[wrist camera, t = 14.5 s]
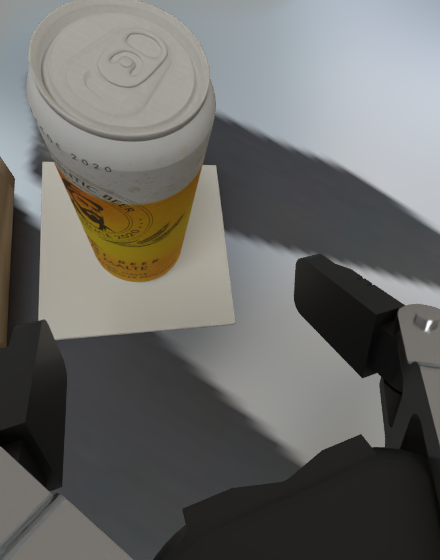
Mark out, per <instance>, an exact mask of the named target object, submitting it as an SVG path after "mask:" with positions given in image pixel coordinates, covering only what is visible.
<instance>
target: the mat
mask: <svg viewBox="0 0 440 560" xmlns="http://www.w3.org/2000/svg"><path fill="white" fill-rule="evenodd" d="M43 319H44V320H46V321H47V323H48V325H49V327H50V329H51V332H52V334H53V336H54V339H55V340H64V339H75V338H86V337H98V336H109V335H121V334H132V333H144V332H155V331H165V330H177V329H189V328H201V327H212V326H222V325H233V324H235V323H236V322H235V314H234V306H233V299H232V291H231V282H230V274H229V266H228V258H227V250H226V242H225V234H224V226H223V218H222V210H221V202H220V194H219V186H218V178H217V170H216V165H202V169H201V173H200V177H199V181H198V185H197V189H196V193H195V197H194V201H193V205H192V209H191V213H190V217H189V221H188V225H187V229H186V233H185V237H184V241H183V245H182V249H181V253H180V256H179V258H178V260H177V262H176V263H175V265H174V266H173V267H172V268H171V269H170V270H169V271H168V272H167V273H166V274H164V275H163V276H161V277H159V278H157V279H154V280H151V281H146V282H130V281H125V280H122V279H119V278H117V277H115V276H113V275H112V274H110V273H109V272H108V271H106V270H105V269H104V268H103V267H102V265H101V264H100V263H99V261H98V260H97V258H96V256H95V253H94V251H93V249H92V247H91V244H90V242H89V240H88V238H87V235H86V233H85V231H84V229H83V226H82V224H81V222H80V220H79V217H78V215H77V213H76V211H75V209H74V206H73V204H72V202H71V200H70V197H69V195H68V193H67V191H66V188H65V186H64V184H63V182H62V179H61V177H60V175H59V173H58V170H57V168H56V166H55V164H54V162H43V164H42V204H41V241H40V279H39V318H38V321H39V320H43Z"/></svg>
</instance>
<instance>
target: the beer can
mask: <svg viewBox="0 0 440 560" xmlns="http://www.w3.org/2000/svg"><path fill="white" fill-rule="evenodd" d="M28 55H29V71H28V76H27V84H26V88H27V98H28V103H29V106H30V109H31V112H32V114H33V117H34V119H35V121H36V123H37V126H38V128H39V130H40V132H41V135H42V137H43V139H44V141H45V143H46V146H47V148H48V150H49V152H50V155H51V157H52V159H53V161H54V164H55V166H56V168H57V170H58V173H59V175H60V177H61V179H62V182H63V184H64V186H65V188H66V191H67V193H68V195H69V197H70V200H71V202H72V204H73V206H74V209H75V211H76V213H77V215H78V217H79V220H80V222H81V224H82V226H83V229H84V231H85V233H86V235H87V238H88V240H89V242H90V244H91V247H92V249H93V251H94V253H95V256H96V258H97V260H98V261H99V263H100V264H101V265H102V267H103V268H104V269H105V270H106V271H108V272H109V273H110V274H112V275H113V276H115V277H117V278H119V279H122V280H125V281H130V282H146V281H151V280H154V279H157V278H159V277H161V276H163V275H164V274H166V273H167V272H168V271H169V270H170V269H171V268H172V267H173V266H174V265H175V263H176V262H177V260H178V258H179V256H180V253H181V249H182V245H183V241H184V237H185V233H186V229H187V225H188V221H189V217H190V213H191V209H192V205H193V201H194V197H195V193H196V189H197V185H198V181H199V177H200V173H201V169H202V165H203V161H204V157H205V153H206V149H207V145H208V141H209V137H210V133H211V129H212V125H213V121H214V117H215V110H216V101H215V94H214V89H213V86H212V83H211V80H210V71H209V65H208V60H207V57H206V55H205V52H204V50H203V48H202V46H201V44H200V43H199V41H198V40H197V38H196V37H195V36H194V35H193V33H192V32H191V31H190V30H189V29H188V28H187V27H186V26H185V25H184V24H183V23H181V22H180V21H179V20H178V19H176V18H175V17H173V16H172V15H171V14H169V13H167V12H165V11H164V10H162V9H160V8H158V7H156V6H153V5H151V4H148V3H145V2H142V1H139V0H75V1H72V2H69V3H67V4H65V5H63V6H60V7H59V8H57V9H56V10H54V11H52V12H51V13H50V14H49V15H47V16H46V17H45V18H44V19H43V21H42V22H41V23H40V24H39V25H38V27H37V28H36V30H35V32H34V34H33V36H32V38H31V42H30V45H29V54H28Z"/></svg>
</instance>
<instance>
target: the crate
mask: <svg viewBox="0 0 440 560" xmlns="http://www.w3.org/2000/svg"><path fill="white" fill-rule="evenodd" d="M14 184H15V178H14V176H13V175H12V173H11V172H10V171H9V169H8V167H7V166H6V164H5V163H4V162H3V160H2V159H1V157H0V349H1V348H5V347H6V345H7V325H8V305H9V285H10V265H11V244H12V224H13V204H14Z"/></svg>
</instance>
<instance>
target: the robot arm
mask: <svg viewBox="0 0 440 560" xmlns="http://www.w3.org/2000/svg"><path fill="white" fill-rule="evenodd" d="M294 302H295V306H296V308H297V310H298V312H299V313H300V314H301V315H302V317H304V319H305V320H306V321H307V322H308V323H309V324H310V325H311V326H312V327H313V328H314V329H315V330H316V331H317V332H318V333H319V334H320V335H321V336H322V337H323V338H324V339H325V340H326V341H327V342H328V343H329V344H330V345H331V346H332V347H333V348H334V349H335V350H336V352H337V353H339V355H340V356H341V357H342V358H343V359H344V360H345V361H346V362H347V363H348V364H349V365H350V366H351V367H352V368H353V369H354V370H355V371H356V372H357V373H358V374H359V375H360V376H361V377H362V378H364V377H367V376H370V375H373V374H375V373H378V374H379V375H380V376H381V380H380V393H381V404H382V412H383V422H384V431H385V447H373V448H372V447H371V446H370V445H369V444H368V442H367V441H366V440H365V439H364V437H363V436H362V435H361V434H360V435H358V436H356V437H354V438H351V439H348V440H346V441H344V442H341V443H339V444H337V445H334V446H332V447H329V448H327V449H325V450H322V451H321V452H320V453H319V454H317V455H316V456H315V457H314V458H313V459H311V460H310V461H309V462H308V463H307V464H306V465H304V466H303V467H302V468H301V469H300V470H298V471H297V472H296V473H295V474H294V475H293V476H291V477H290V478H289V479H288V480H286V481H283V482H279V483H271V484H263V485H255V486H247V487H239V488H231V489H229V490H226V491H224V492H222V493H219V494H217V495H214V496H212V497H210V498H207V499H205V500H203V501H200V502H198V503H195V504H193V505H191V506H188V507H186V508H183V514H184V518H185V522H186V525H185V526H184V527H183V528H182V529H180V530H179V531H178V532H177V533H176V534H175V535H174V536H173V537H172V538H171V539H170V540H169V541H168V542H167V543H166V544H165V545H164V546H163V547H162V549H161V550H160V551H159V553H158V554H157V555H156V556H155V558H154V559H153V560H440V309H438V308H435V307H432V306H427V305H421V304H412V305H406V306H405V305H404V304H402V303H401V302H399V301H398V300H396V299H394V298H393V297H392V296H390V295H388V294H387V293H386V292H384V291H383V290H381V289H380V288H378V287H377V286H375V285H372V283H371V282H369V281H368V280H366V279H363V278H362V276H360V275H359V274H357V273H356V272H354V271H353V270H351V269H349V268H346V267H343V266H340V265H338V264H335V263H333V262H332V261H330V260H329V259H327V258H326V257H325V256H323V255H321V254H316V255H312V256H308V257H304V258H300V259H298V261H297V262H296V270H295V289H294ZM66 393H67V373H66V368H65V364H64V360H63V358H62V355H61V353H60V351H59V348H58V346H57V343H56V341H55V339H54V336H53V334H52V332H51V329H50V327H49V325H48V323H47V321H46V320H44V319H43V320H39V321H35V322H31V323H27V324H23V325H19V326H15V327H14V329H13V332H12V336H11V339H10V343H9V346H8V347H5V348H1V349H0V560H133V559H132V558H131V557H130V556H128V555H127V554H126V553H125V552H124V551H123V550H122V549H121V548H120V547H119V546H117V545H116V544H115V543H114V542H113V541H112V540H111V539H110V538H109V537H108V536H106V535H105V534H104V533H103V532H102V531H101V530H100V529H99V528H98V527H97V526H95V525H94V524H93V523H92V522H91V521H90V520H89V519H88V518H87V517H86V516H84V515H83V514H82V513H81V512H80V511H79V510H78V509H77V508H76V507H75V506H73V505H72V504H71V503H70V502H69V501H68V500H67V499H66V498H64V497H63V496H62V495H60V494H58V493H56V494H55V495H53V494H51V493H50V492H49V491H52V490H55V489H57V488H60V487H62V477H63V456H64V435H65V414H66Z"/></svg>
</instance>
